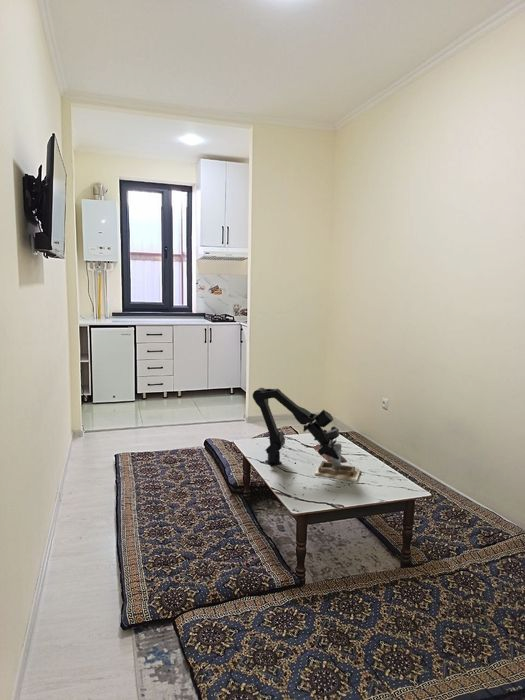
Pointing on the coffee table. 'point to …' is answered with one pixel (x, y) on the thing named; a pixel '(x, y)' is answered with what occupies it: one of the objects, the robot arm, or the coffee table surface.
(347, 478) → the keyhole board
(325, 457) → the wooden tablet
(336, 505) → the coffee table surface
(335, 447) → the slate peg
